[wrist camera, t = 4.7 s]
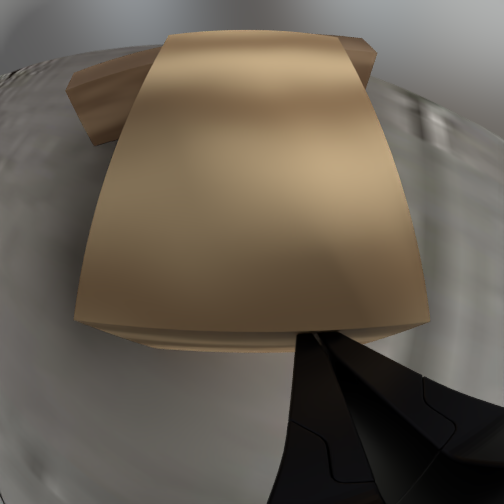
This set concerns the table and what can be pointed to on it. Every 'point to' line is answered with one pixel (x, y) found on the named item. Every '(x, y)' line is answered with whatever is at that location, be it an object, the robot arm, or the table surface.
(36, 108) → the table surface
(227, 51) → the oak block
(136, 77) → the walnut board
